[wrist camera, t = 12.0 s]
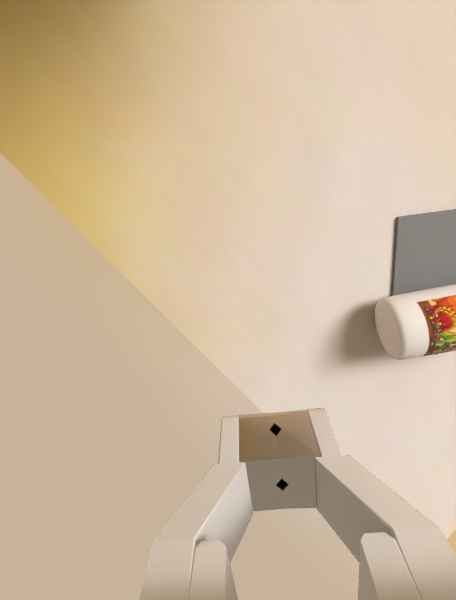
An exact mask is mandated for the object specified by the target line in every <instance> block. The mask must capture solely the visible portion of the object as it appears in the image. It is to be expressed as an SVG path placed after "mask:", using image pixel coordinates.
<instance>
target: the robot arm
mask: <svg viewBox="0 0 456 600" xmlns="http://www.w3.org/2000/svg"><path fill="white" fill-rule="evenodd" d="M284 508H285V509H286V508H317V510H318V511H319V512H320V513H321V515H322V516H323V517H324V518H325V520H326V521H327V522H328V523H329V525H330V526H331V527H332V529H333V530H334V531H335V532H336V534H337V535H338V536H339V537H340V539H341V540H342V541H343V542H344V544H345V545H346V546H347V548H348V549H349V550H350V551H351V553H352V554H353V555H354V556H355V558H356V559H357V560H358V562H359V563H360V564H359V588H358V600H456V556H455V554H454V553H453V551H452V549H451V547H450V545H449V544H448V542H447V540H446V538H445V537H444V535H443V533H442V531H441V530H440V528H439V527H438V526H436V525H435V524H434V523H433V522H432V521H430V520H429V519H428V518H427V517H425V516H424V515H423V514H422V513H420V512H419V511H418V510H417V509H415V508H414V507H413V506H412V505H410V504H409V503H408V502H407V501H406V500H404V499H403V498H402V497H401V496H399V495H398V494H397V493H396V492H394V491H393V490H392V489H391V488H389V487H388V486H387V485H386V484H385V483H383V482H382V481H381V480H380V479H378V478H377V477H376V476H375V475H373V474H372V473H371V472H370V471H368V470H367V469H366V468H365V467H364V466H362V465H361V464H360V463H359V462H357V461H356V460H355V459H354V458H352V457H351V456H350V455H343V453H342V450H341V448H340V445H339V442H338V440H337V437H336V434H335V432H334V429H333V426H332V424H331V421H330V418H329V416H328V413H327V410H326V409H325V408H317V409H307V410H298V411H287V412H276V413H263V414H247V415H236V416H223V417H222V421H221V433H220V446H219V461H218V464H213V465H212V466H211V468H210V469H209V470H208V471H207V473H206V474H205V475H204V477H203V478H202V479H201V481H200V482H199V483H198V484H197V486H196V487H195V488H194V490H193V491H192V492H191V494H190V495H189V496H188V497H187V499H186V500H185V501H184V502H183V504H182V505H181V506H180V508H179V509H178V510H177V512H176V513H175V514H174V516H173V517H172V518H171V519H170V521H169V522H168V523H167V525H166V526H165V527H164V528H163V530H162V531H161V532H160V534H159V535H158V536H157V538H156V539H155V540H154V541H153V545H152V550H151V554H150V558H149V562H148V566H147V571H146V575H145V579H144V583H143V587H142V592H141V596H140V600H238V598H237V593H236V589H235V584H234V580H233V576H232V571H231V567H230V562H231V560H232V558H233V556H234V554H235V551H236V549H237V547H238V545H239V543H240V541H241V538H242V537H243V535H244V532H245V530H246V528H247V526H248V524H249V522H250V519H251V517H252V515H253V511H261V510H274V509H284Z"/></svg>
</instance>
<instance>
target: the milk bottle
mask: <svg viewBox="0 0 456 600" xmlns="http://www.w3.org/2000/svg"><path fill="white" fill-rule="evenodd" d="M375 323H376V328H377V332H378V335H379V338H380V341H381V343H382V345H383V347H384V349H385V350H386V352H387V353H388V354H389V355H390V356H391V357H392V358H395V359H408V358H414V357H420V356H426V355H432V354H438V353H444V352H450V351H456V284H453V285H448V286H442V287H437V288H431V289H426V290H421V291H415V292H410V293H405V294H400V295H394V296H389V297H385V298H382V299H380V300H379V301H378V302H377V304H376V307H375Z"/></svg>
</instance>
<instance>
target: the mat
mask: <svg viewBox="0 0 456 600" xmlns="http://www.w3.org/2000/svg"><path fill="white" fill-rule="evenodd" d="M453 284H456V209H454V210H446V211H439V212H431V213H424V214H416V215H409V216H401V217H397V226H396V241H395V256H394V271H393V286H392V296H394V295H400V294H405V293H410V292H415V291H421V290H426V289H431V288H437V287H442V286H448V285H453Z"/></svg>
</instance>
